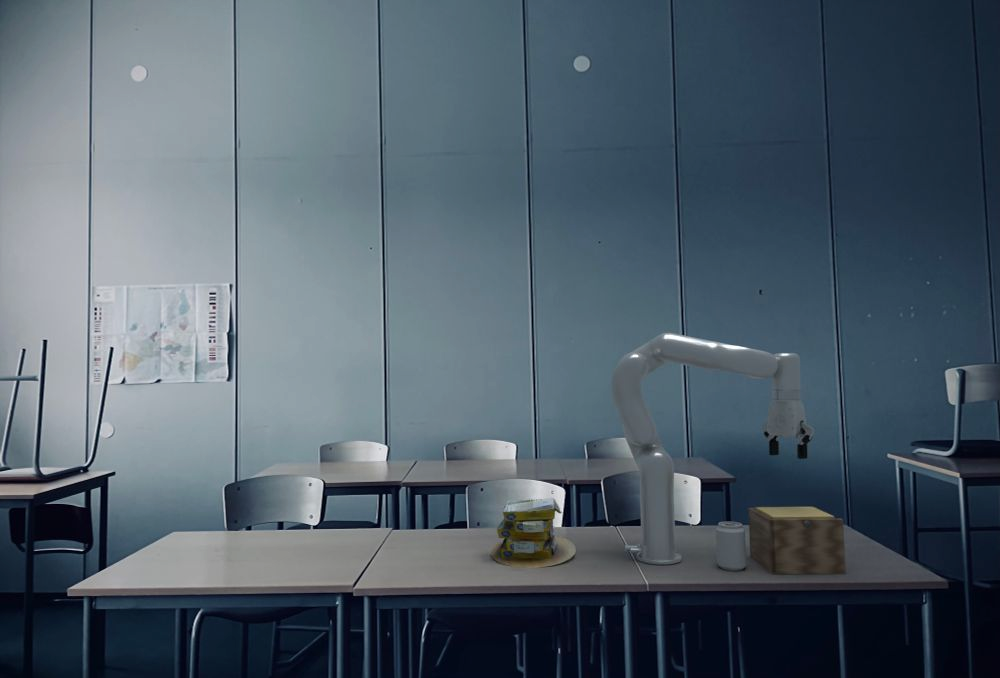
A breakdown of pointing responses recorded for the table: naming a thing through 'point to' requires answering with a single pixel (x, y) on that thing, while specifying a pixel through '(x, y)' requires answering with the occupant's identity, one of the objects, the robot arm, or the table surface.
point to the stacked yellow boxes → (531, 535)
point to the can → (731, 546)
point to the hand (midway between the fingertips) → (787, 456)
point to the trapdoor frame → (797, 544)
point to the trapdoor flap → (794, 513)
